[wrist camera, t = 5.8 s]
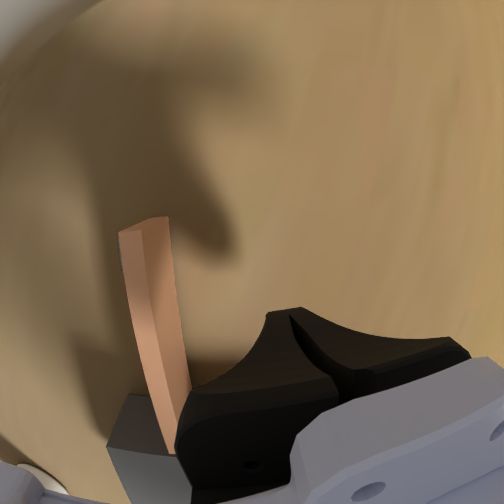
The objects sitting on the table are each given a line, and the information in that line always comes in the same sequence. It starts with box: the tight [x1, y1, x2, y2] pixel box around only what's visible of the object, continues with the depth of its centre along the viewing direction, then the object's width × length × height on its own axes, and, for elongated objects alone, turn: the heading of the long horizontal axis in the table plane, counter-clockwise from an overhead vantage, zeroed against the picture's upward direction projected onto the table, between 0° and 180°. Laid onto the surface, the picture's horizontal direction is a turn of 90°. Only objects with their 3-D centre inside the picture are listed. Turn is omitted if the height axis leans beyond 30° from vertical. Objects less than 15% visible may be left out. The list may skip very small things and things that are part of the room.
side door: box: [117, 216, 192, 454], centre depth 12 cm, size 1×10×4 cm, turn 3°
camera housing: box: [106, 394, 192, 504], centre depth 14 cm, size 8×18×6 cm, turn 87°
